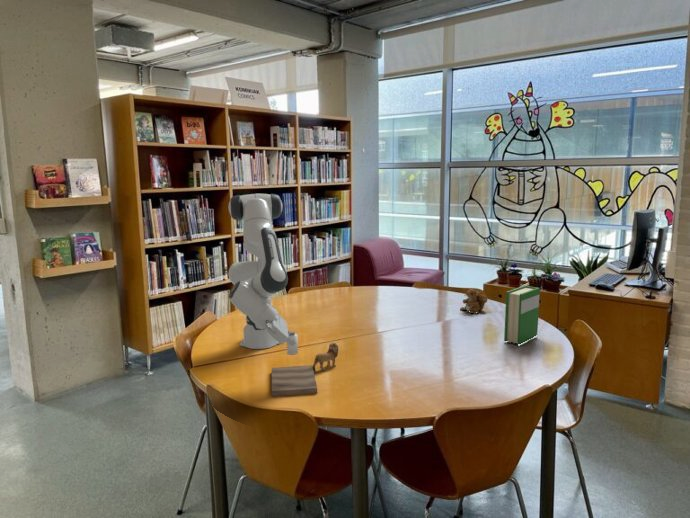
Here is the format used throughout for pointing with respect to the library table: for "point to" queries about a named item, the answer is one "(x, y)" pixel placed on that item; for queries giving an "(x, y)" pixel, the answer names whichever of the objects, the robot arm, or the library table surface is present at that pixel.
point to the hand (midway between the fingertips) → (293, 341)
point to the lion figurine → (327, 356)
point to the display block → (293, 380)
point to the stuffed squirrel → (474, 301)
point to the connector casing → (293, 349)
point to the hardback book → (521, 314)
